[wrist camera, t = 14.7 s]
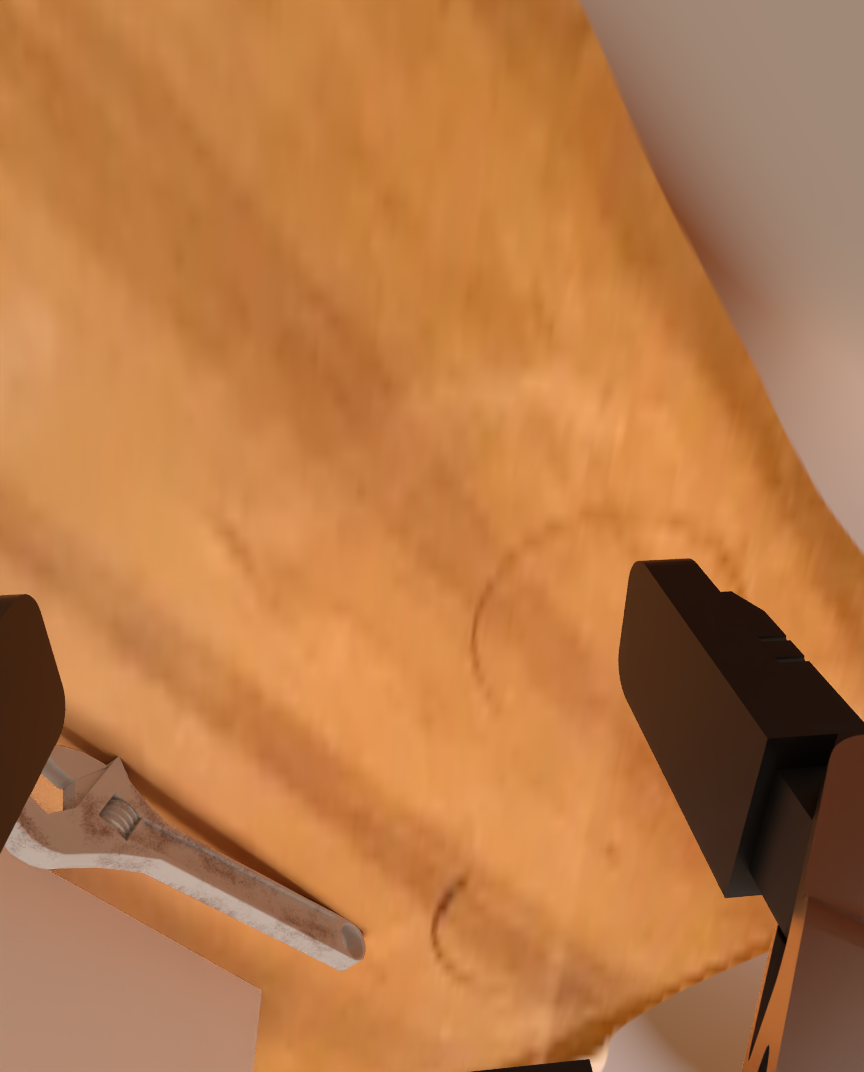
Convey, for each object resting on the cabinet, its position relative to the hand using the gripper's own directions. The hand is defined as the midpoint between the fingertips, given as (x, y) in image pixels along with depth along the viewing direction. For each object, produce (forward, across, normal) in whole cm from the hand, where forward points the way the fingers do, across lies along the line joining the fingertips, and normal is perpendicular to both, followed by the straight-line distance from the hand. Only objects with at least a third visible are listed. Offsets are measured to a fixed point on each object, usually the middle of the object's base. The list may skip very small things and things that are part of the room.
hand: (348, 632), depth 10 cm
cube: (+29, -26, -50) cm, 63 cm away
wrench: (+28, -11, -36) cm, 47 cm away
